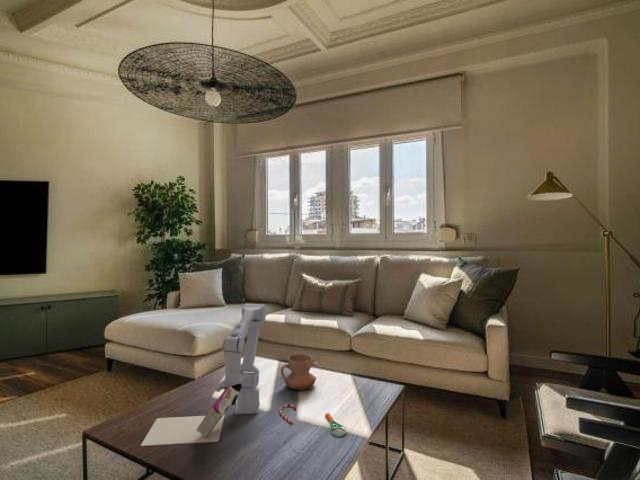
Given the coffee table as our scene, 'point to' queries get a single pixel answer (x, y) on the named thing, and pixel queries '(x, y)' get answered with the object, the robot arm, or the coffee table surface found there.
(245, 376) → the robot arm
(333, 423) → the magnifying glass
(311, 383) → the ceramic jug
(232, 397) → the candy bar box
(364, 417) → the coffee table surface
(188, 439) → the mat
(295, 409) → the candy cane
